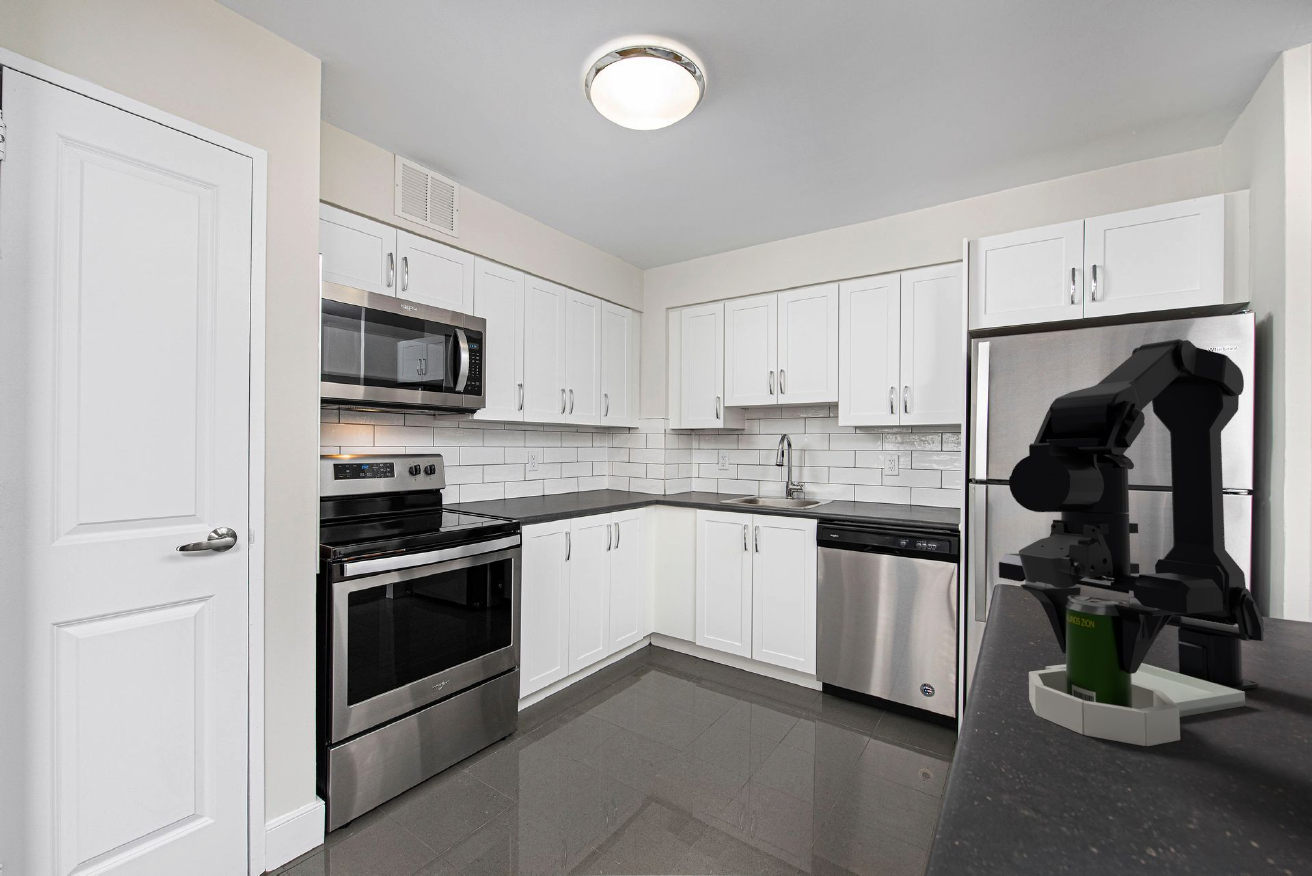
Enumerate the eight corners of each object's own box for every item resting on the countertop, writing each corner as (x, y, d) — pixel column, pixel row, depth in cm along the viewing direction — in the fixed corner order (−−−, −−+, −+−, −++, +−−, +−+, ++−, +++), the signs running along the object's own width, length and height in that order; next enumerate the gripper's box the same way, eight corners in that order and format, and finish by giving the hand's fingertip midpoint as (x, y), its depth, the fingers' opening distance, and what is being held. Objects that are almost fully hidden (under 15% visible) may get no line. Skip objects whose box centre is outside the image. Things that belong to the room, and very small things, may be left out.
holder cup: (1081, 692, 67) (1080, 665, 67) (1203, 735, 56) (1202, 703, 56) (1006, 702, 63) (1006, 674, 63) (1121, 751, 52) (1120, 716, 52)
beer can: (1120, 734, 56) (1117, 607, 57) (1057, 714, 60) (1055, 597, 61) (1141, 722, 59) (1138, 602, 60) (1079, 704, 63) (1077, 592, 64)
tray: (1123, 669, 76) (1122, 657, 76) (1245, 705, 64) (1244, 691, 64) (1045, 679, 71) (1045, 666, 71) (1161, 720, 59) (1161, 705, 60)
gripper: (962, 506, 67) (963, 643, 66) (1142, 519, 50) (1147, 706, 49) (1032, 506, 71) (1034, 636, 70) (1223, 519, 53) (1229, 693, 52)
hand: (1097, 663), depth 60 cm, fingers open, 6 cm apart
